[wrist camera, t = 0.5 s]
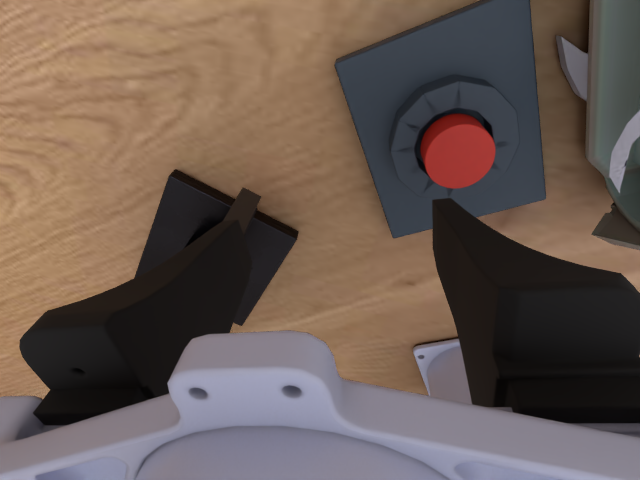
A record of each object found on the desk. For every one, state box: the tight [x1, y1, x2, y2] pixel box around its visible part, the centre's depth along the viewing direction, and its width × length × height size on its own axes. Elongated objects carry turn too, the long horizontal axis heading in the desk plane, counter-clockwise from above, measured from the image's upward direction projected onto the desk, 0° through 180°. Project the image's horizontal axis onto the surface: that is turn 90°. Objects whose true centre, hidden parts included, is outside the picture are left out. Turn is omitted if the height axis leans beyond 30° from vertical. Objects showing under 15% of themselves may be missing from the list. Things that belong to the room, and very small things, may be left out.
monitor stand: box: [135, 170, 299, 326], centre depth 26 cm, size 9×10×4 cm
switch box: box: [335, 0, 546, 238], centre depth 20 cm, size 11×9×3 cm
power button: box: [420, 113, 496, 188], centre depth 19 cm, size 3×3×2 cm
